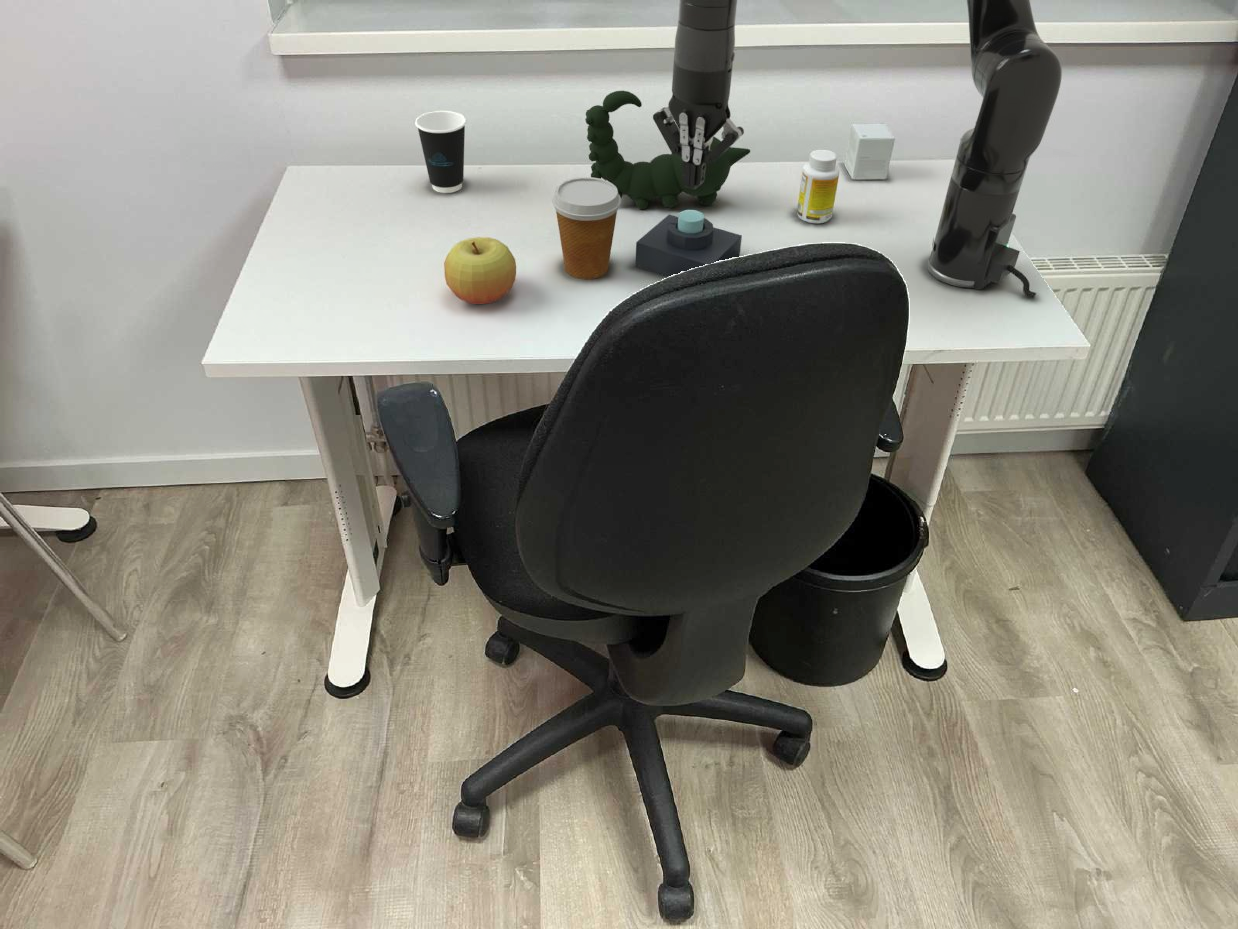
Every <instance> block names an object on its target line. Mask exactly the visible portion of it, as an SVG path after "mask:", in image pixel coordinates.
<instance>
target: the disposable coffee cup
mask: <svg viewBox="0 0 1238 929" xmlns="http://www.w3.org/2000/svg"><path fill="white" fill-rule="evenodd" d="M551 203H552V205H553V208H554V210H555V214H556V219H557V225H558V233H559V240H560V245H561V252H562V258H563V264H564V271H565V272H566V273H567V274H568V275H569V276H571V277H573V278H576V279H581V280H592V279H597V278H600V277H603V276H604V275H606V274H607V273H608V271H609V266H610V258H611V252H612V246H613V241H614V233H615V226H616V220H617V215H618V210H619V208H620V206H621V204H622V199H621V197H620V195H619V194H618V190H617V188H616V186H615V185H613V184H612V183H610V182H609V181H607V180H604V179H603V178H601V179H599V178H593V177H591V176H580V177H579V176H578V177H574V178H570V179H566V180H563V181H562V182H560V183H559V184H558V185H556V188H555V190H554V193H553V195H552V197H551Z"/></svg>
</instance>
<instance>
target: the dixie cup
mask: <svg viewBox="0 0 1238 929" xmlns="http://www.w3.org/2000/svg"><path fill="white" fill-rule="evenodd" d="M466 124H467V118H466V116H464V115H463V114H461V113H460V112H456V111H451V110H434V111H429V112H424V113H423V114H421V115H419V116H418V117H417V118H416V119H415V121H414V125H415V126H416V128H417V130H418V136H419V139H420V144H421V149H422V152H423V157H424V162H425V166H426V171H427V175H428V179H429V183H430V184H431V186H432V189H433V190H434V191H435V192H436V193H441V194H451V193H455V192H457V191H460V190H461V189H462V187H463V182H464V174H465V137H466V136H465V134H466V132H465V131H466V130H465V129H466Z"/></svg>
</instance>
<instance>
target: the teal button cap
mask: <svg viewBox="0 0 1238 929" xmlns="http://www.w3.org/2000/svg"><path fill="white" fill-rule="evenodd" d="M677 217H678V230H679V231H681V232H685V233H699V232H702V230H703V222H704V218H705V215H704V213H703V212H701V211H699V210H697V209H685V210H682V211H680V212H678V216H677Z"/></svg>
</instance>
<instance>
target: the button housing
mask: <svg viewBox="0 0 1238 929" xmlns="http://www.w3.org/2000/svg"><path fill="white" fill-rule="evenodd" d="M742 240H743V235H742V234H738V233H734V232H731V231H728V230H725V229H721V228H718V227H714V223H712V222H711V221H710V220H708V219H707V218H705V217H704V222H703V230H702V232H699V233H685V232H681V231H679V230H678V216H676V215H673V214H670V213H669V214H668V215H667V216H665V217H664V218H663V219H662V220H660V221H659V222H658V223H657V224H656V225H655V226H653V228H650V230H649V231H648V232H646V233H645V234H644V235H643V236H642V237H641V238H639V240H638V239H637V241H636V242H635V265H634V266H635V267H636V268H638V269H642V270H646V271H648V272H650V273H654V274H658V275H661V276H664V277H667V278H669V277H668V276H671V275H673V274H678V273H680V272H681V271H687V270H689V269H691V268H695V267H699V266H703V265H705V264H711V263H714V262H716V261H719V260H725V259H729V258H732V257H739V256H740V257H741V248H742ZM740 257H739V258H740Z"/></svg>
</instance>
